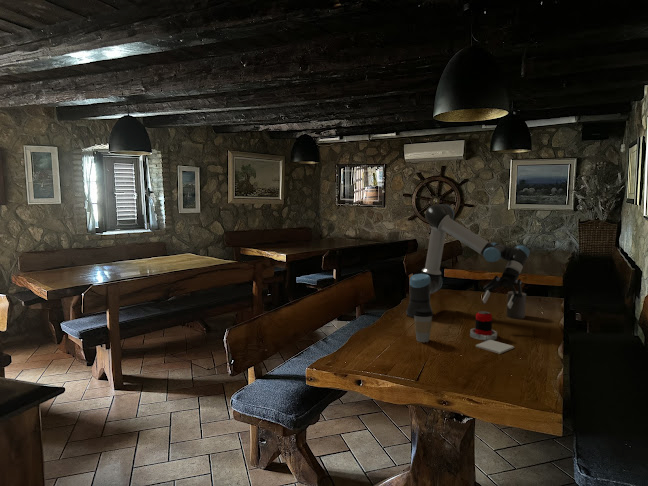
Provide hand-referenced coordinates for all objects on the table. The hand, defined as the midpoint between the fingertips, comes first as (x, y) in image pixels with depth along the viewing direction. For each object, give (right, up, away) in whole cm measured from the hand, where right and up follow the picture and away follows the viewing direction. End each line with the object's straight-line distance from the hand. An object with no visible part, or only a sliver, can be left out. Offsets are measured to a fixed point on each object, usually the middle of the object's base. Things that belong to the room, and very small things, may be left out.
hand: (495, 304), depth 217 cm
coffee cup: (-39, -16, -9) cm, 43 cm away
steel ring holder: (-8, -15, -4) cm, 18 cm away
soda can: (-8, -15, -4) cm, 18 cm away
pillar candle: (+24, -11, +30) cm, 40 cm away
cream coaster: (-8, -17, -20) cm, 27 cm away
